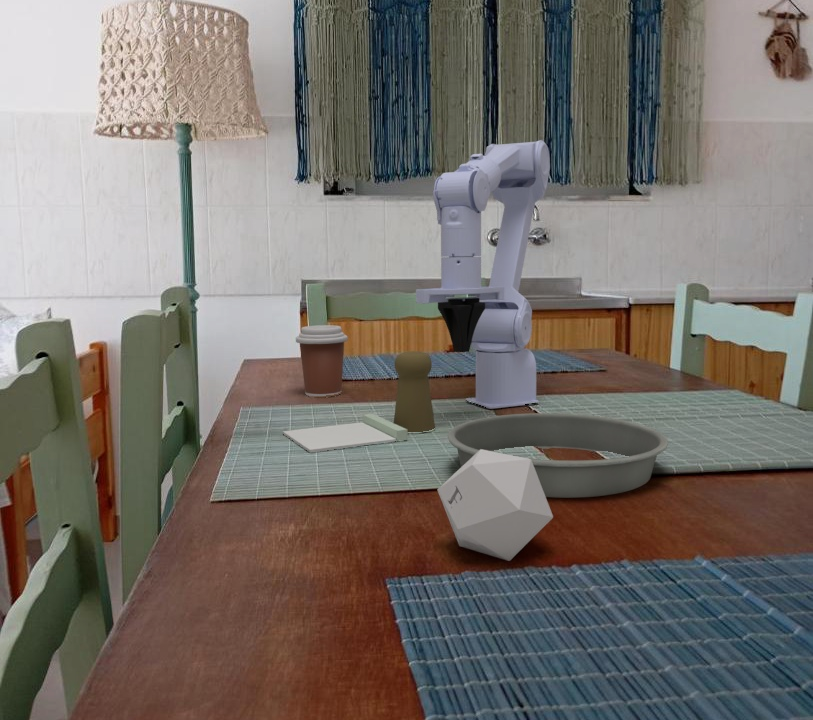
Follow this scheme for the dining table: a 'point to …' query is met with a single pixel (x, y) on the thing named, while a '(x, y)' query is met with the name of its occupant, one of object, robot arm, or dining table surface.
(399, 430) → the kerb
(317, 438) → the mat
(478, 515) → the die
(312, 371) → the coffee cup
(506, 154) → the robot arm
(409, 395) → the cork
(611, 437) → the cake pan
